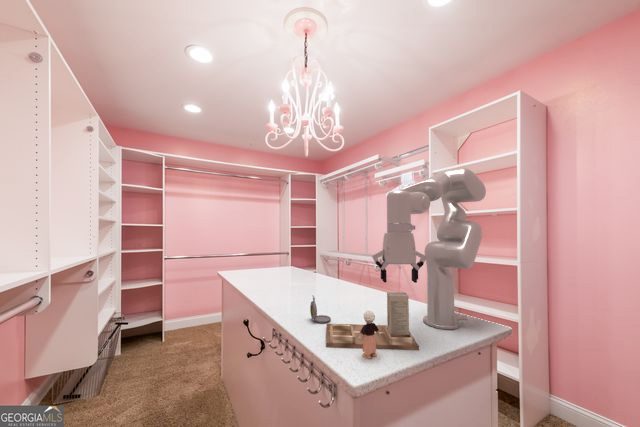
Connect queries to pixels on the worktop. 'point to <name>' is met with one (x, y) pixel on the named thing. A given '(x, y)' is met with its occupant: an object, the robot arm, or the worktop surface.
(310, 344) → the worktop surface
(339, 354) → the worktop surface
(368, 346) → the grandmother figurine
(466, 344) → the worktop surface
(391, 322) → the skincare box
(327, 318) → the pocket watch
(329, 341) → the board
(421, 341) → the worktop surface
